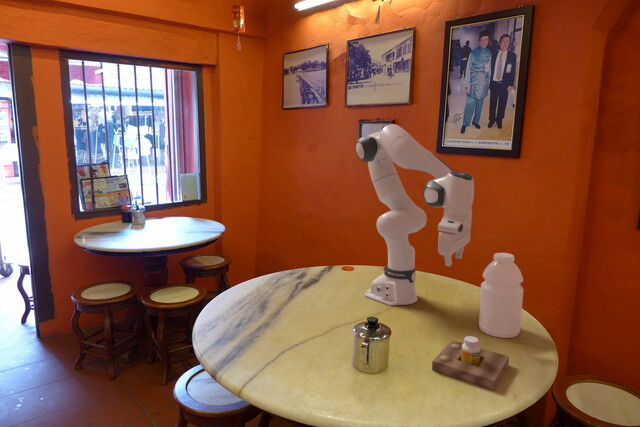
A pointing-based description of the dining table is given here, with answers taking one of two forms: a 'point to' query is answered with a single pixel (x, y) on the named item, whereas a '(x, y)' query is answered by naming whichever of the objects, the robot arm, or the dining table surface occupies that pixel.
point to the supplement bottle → (470, 351)
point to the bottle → (501, 297)
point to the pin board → (483, 375)
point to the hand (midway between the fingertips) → (453, 261)
